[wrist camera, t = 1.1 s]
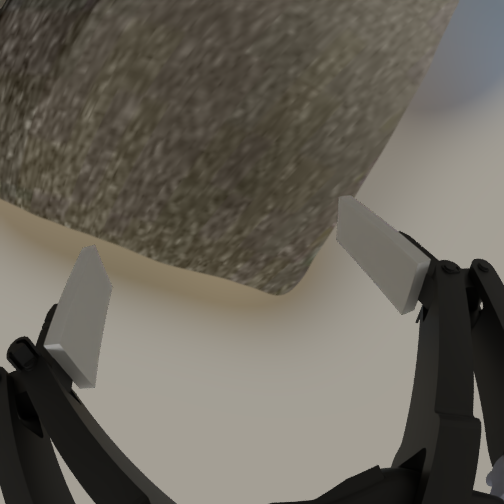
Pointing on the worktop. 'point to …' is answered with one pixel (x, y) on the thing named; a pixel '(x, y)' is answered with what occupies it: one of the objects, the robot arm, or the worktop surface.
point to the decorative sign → (2, 3)
